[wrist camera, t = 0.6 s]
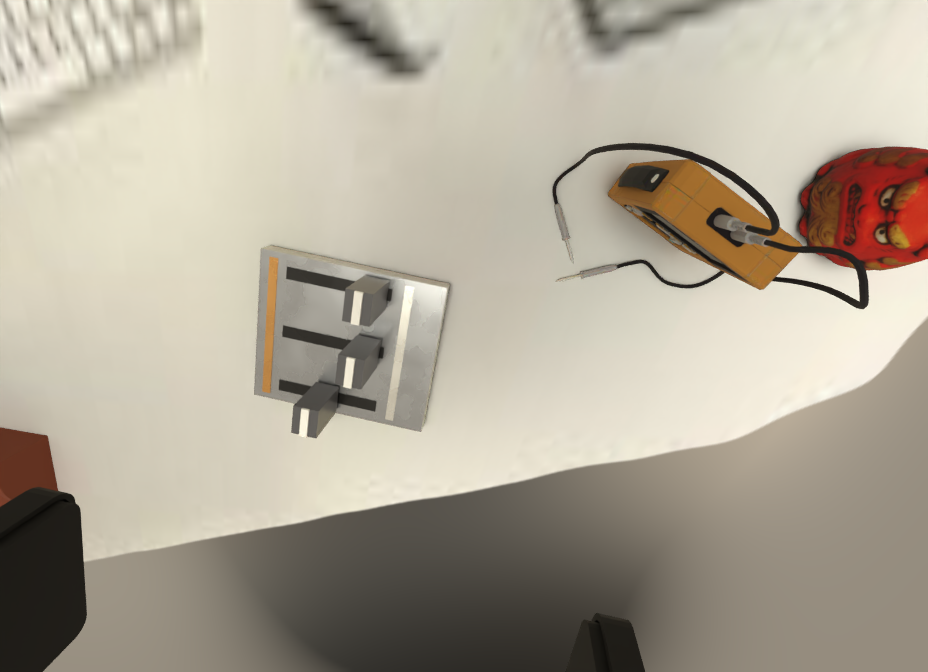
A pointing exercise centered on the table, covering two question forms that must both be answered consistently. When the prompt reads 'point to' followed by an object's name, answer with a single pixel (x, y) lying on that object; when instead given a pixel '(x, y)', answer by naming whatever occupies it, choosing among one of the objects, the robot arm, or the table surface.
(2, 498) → the hanging shelf
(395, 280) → the panel
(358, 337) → the breaker mid
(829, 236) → the red clay folk toy
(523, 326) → the table surface
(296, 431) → the breaker far
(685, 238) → the multimeter
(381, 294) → the block
